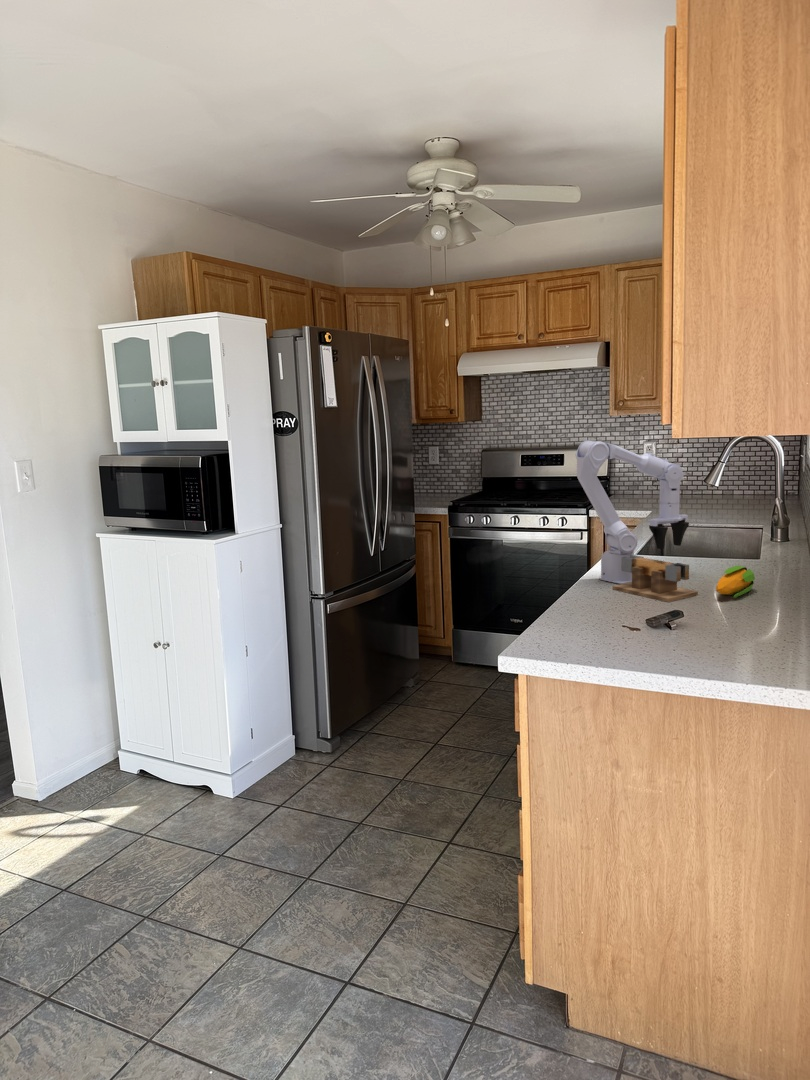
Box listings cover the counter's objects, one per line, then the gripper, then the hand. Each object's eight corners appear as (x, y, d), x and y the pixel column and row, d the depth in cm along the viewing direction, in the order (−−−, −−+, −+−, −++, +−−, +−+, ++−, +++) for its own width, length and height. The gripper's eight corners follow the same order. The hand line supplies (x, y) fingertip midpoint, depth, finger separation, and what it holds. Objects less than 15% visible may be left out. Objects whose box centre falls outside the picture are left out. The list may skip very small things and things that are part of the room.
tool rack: (612, 589, 222) (612, 565, 221) (641, 583, 228) (641, 560, 227) (668, 602, 205) (668, 576, 204) (697, 595, 211) (698, 570, 210)
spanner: (621, 570, 223) (621, 557, 222) (633, 568, 225) (633, 555, 224) (676, 581, 206) (676, 567, 205) (688, 579, 209) (689, 564, 208)
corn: (759, 562, 213) (734, 575, 199) (761, 589, 214) (735, 604, 200) (732, 561, 218) (705, 574, 204) (734, 587, 219) (707, 602, 205)
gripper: (663, 506, 223) (663, 551, 225) (696, 501, 230) (695, 545, 233) (644, 504, 229) (644, 548, 231) (677, 499, 236) (676, 542, 239)
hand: (668, 547), depth 232 cm, fingers open, 7 cm apart
